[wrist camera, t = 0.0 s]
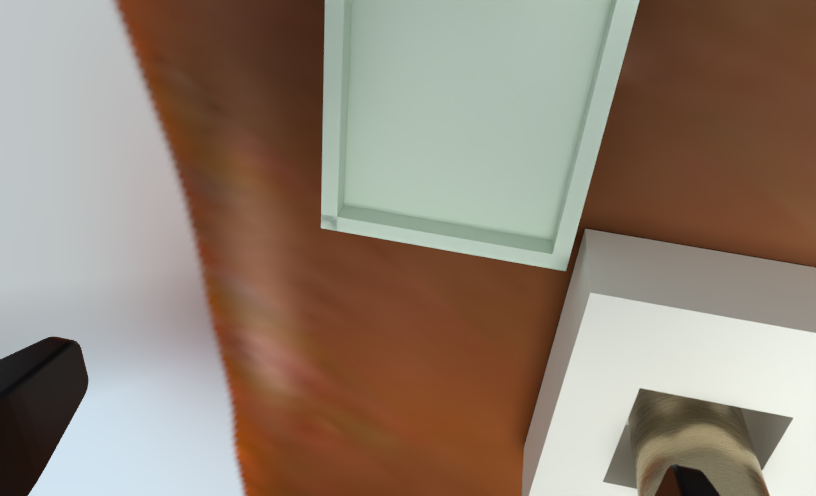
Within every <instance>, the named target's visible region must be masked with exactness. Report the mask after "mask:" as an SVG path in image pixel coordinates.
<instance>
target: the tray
mask: <svg viewBox="0 0 816 496" xmlns="http://www.w3.org/2000/svg"><path fill="white" fill-rule="evenodd" d="M638 4H639V0H325V27H324V84H323V140H322V197H321V228H323V229H329V230H334V231H340V232H346V233H351V234H357V235H363V236H368V237H374V238H380V239H385V240H391V241H397V242H402V243H408V244H414V245H419V246H425V247H431V248H436V249H442V250H448V251H453V252H459V253H465V254H470V255H476V256H482V257H487V258H493V259H499V260H504V261H510V262H516V263H521V264H527V265H533V266H538V267H544V268H550V269H555V270H561V271H566V269H567V266H568V262H569V258H570V255H571V251H572V247H573V243H574V240H575V236H576V232H577V229H578V225H579V221H580V218H581V214H582V210H583V207H584V203H585V199H586V196H587V192H588V188H589V185H590V181H591V177H592V173H593V170H594V166H595V162H596V159H597V155H598V151H599V148H600V144H601V140H602V137H603V133H604V129H605V126H606V122H607V118H608V115H609V111H610V107H611V103H612V100H613V96H614V92H615V89H616V85H617V81H618V78H619V74H620V70H621V67H622V63H623V59H624V56H625V52H626V48H627V45H628V41H629V37H630V34H631V30H632V26H633V22H634V19H635V15H636V11H637V8H638Z"/></svg>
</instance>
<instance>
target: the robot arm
mask: <svg viewBox="0 0 816 496" xmlns="http://www.w3.org/2000/svg"><path fill="white" fill-rule="evenodd" d="M87 387H88V375H87V371H86V367H85V363H84V359H83V354H82V350H81V347H80V345H79V344H78V343H77V342H76V341H74V340H69V339H64V338H60V337H48V338H46V339H43V340H41V341H39V342H37V343H35V344H33V345H30V346H28V347H26V348H24V349H22V350H20V351H18V352H15V353H14V354H11V355H9V356H7V357H5V358H3V359H0V496H28V494H29V493H30V491H31V490H32V488H33V487H34V485H35V484H36V482H37V481H38V479H39V477H40V475H41V474H42V472H43V470H44V469H45V467H46V465H47V463H48V461H49V460H50V458H51V456H52V454H53V452H54V450H55V449H56V446H57V445H58V443H59V441H60V439H61V437H62V436H63V434H64V432H65V430H66V428H67V427H68V425H69V423H70V421H71V419H72V417H73V416H74V414H75V412H76V410H77V408H78V406H79V405H80V403H81V401H82V399H83V397H84V395H85V393H86V390H87ZM654 496H721V495H720V493H719V492H718V491H717V489H716V488H715V487H714V485H713V484H712V483H711V481H710V480H709V479H708V477H707V476H706V475H705V473H703V472H702V471H701V470H699V469H697V468H692V467H688V466H683V465H678V464H672V465H670V466H669V467H668V469H667V470H666V472H665V474H664V476H663V479H662V481H661V483H660V485H659V487H658V489H657V491H656V493H655V495H654Z"/></svg>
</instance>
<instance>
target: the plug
mask: <svg viewBox="0 0 816 496" xmlns="http://www.w3.org/2000/svg"><path fill="white" fill-rule="evenodd" d="M628 422H629V430H630V438H631V445H632V453H633V461H634V469H635V476H636V484H637V492H638V496H654V495H655V493H656V491H657V489H658V487H659V485H660V483H661V481H662V479H663V476H664V474H665V472H666V470H667V469H668V467H669V466H670V465H672V464H678V465H683V466H688V467H692V468H697V469H699V470H701V471H702V472H703V473H705V475H706V476H707V477H708V479H709V480H710V481H711V483H712V484H713V485H714V487H715V488H716V489H717V491H718V492H719V493H720V495H721V496H770V495H769V492H768V489H767V486H766V483H765V480H764V477H763V474H762V471H761V468H760V464H759V461H758V458H757V455H756V452H755V449H754V446H753V443H752V440H751V437H750V434H749V431H748V428H747V425H746V422H745V419H744V416H743V413H742V410H741V407H735V406H730V405H725V404H720V403H715V402H710V401H704V400H699V399H694V398H689V397H684V396H678V395H673V394H668V393H663V392H658V391H653V390H647V389H642V388H640V389H639V392H638V394H637V397H636V399H635V402H634V404H633V407H632V409H631V412H630V414H629V417H628Z"/></svg>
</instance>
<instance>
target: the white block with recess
mask: <svg viewBox="0 0 816 496" xmlns="http://www.w3.org/2000/svg"><path fill="white" fill-rule="evenodd" d="M640 388H642V389H647V390H653V391H658V392H663V393H668V394H673V395H678V396H684V397H689V398H694V399H699V400H704V401H710V402H715V403H720V404H725V405H730V406H735V407H741V410H742V413H743V416H744V419H745V422H746V425H747V428H748V431H749V434H750V437H751V440H752V443H753V446H754V449H755V452H756V455H757V458H758V461H759V464H760V468H761V471H762V474H763V477H764V480H765V483H766V486H767V489H768V492H769V495H770V496H816V268H815V267H810V266H804V265H798V264H792V263H786V262H780V261H774V260H768V259H762V258H756V257H750V256H744V255H739V254H733V253H727V252H721V251H715V250H709V249H703V248H697V247H691V246H685V245H679V244H673V243H667V242H662V241H656V240H650V239H644V238H638V237H632V236H626V235H620V234H614V233H608V232H602V231H596V230H591V229H585V231H584V234H583V238H582V241H581V245H580V248H579V252H578V256H577V259H576V263H575V266H574V270H573V274H572V277H571V281H570V284H569V288H568V291H567V295H566V299H565V302H564V306H563V309H562V313H561V317H560V320H559V324H558V327H557V331H556V335H555V338H554V342H553V345H552V349H551V352H550V356H549V360H548V363H547V367H546V370H545V374H544V378H543V381H542V385H541V388H540V392H539V395H538V399H537V403H536V406H535V410H534V413H533V417H532V421H531V424H530V428H529V431H528V435H527V438H526V442H525V446H524V458H523V480H522V496H638V492H637V484H636V476H635V469H634V461H633V453H632V445H631V438H630V430H629V422H628V417H629V414H630V412H631V409H632V407H633V404H634V402H635V399H636V397H637V394H638V392H639V389H640Z"/></svg>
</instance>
